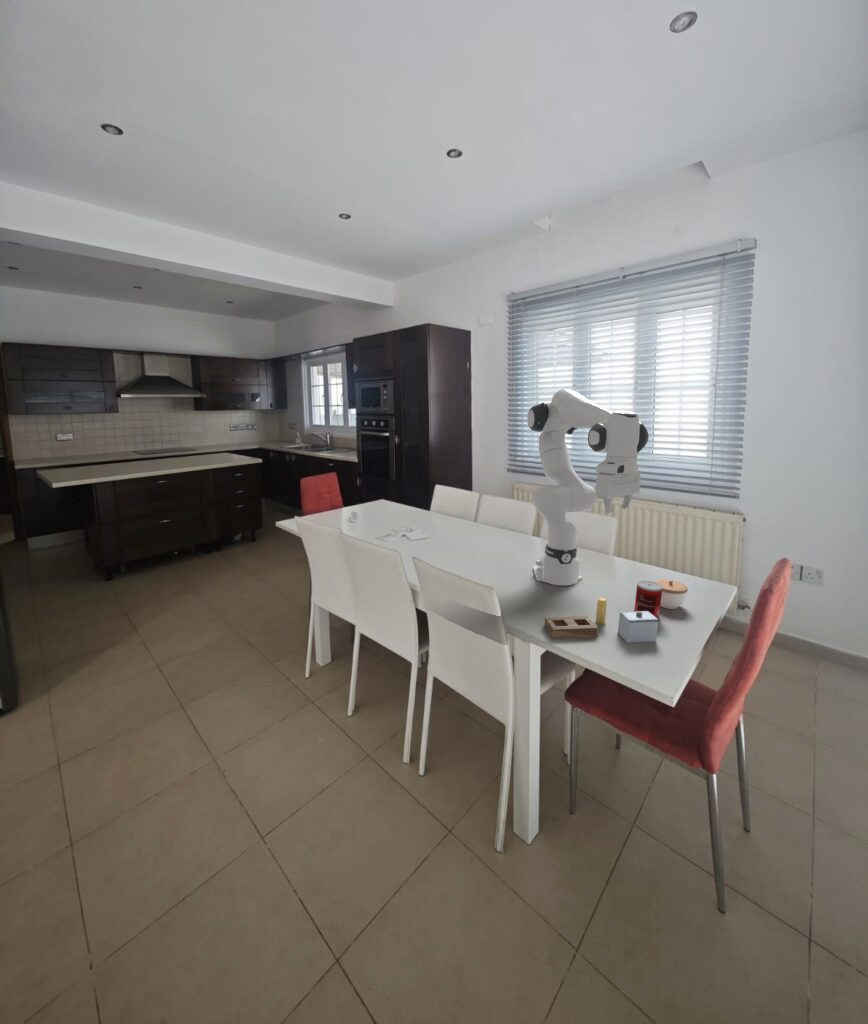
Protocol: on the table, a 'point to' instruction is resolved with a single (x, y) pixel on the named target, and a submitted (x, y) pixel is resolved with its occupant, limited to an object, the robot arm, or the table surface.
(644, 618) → the cover
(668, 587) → the lidded jar
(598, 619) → the peg
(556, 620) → the socket board
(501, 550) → the table surface
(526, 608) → the table surface
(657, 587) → the canned food
